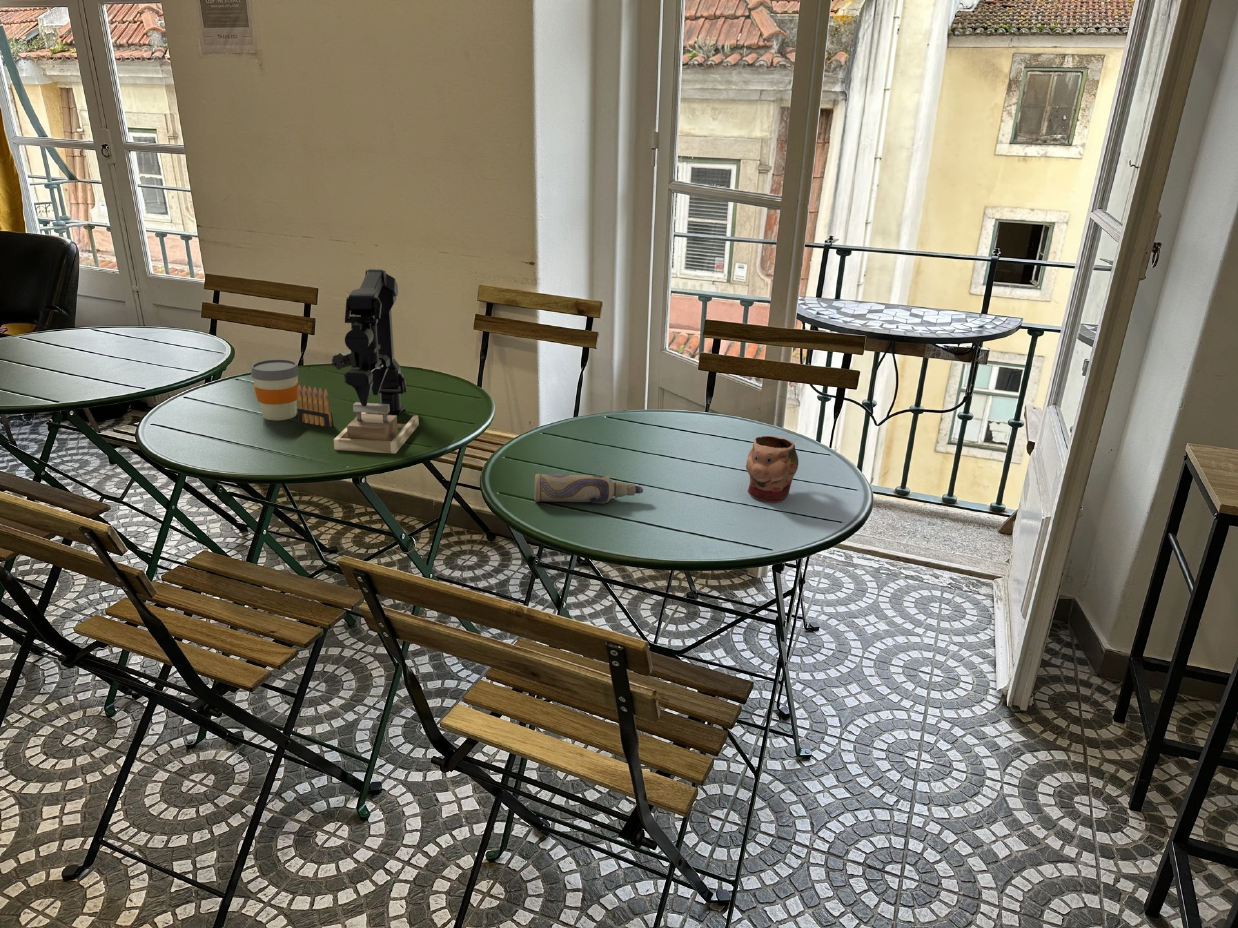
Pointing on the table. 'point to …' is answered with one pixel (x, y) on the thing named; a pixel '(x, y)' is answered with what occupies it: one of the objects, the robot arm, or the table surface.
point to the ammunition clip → (313, 408)
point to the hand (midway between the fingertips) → (369, 400)
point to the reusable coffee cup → (276, 388)
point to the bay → (375, 445)
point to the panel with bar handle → (372, 423)
